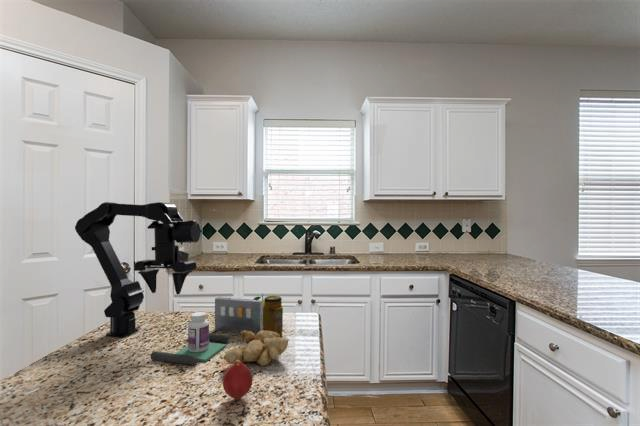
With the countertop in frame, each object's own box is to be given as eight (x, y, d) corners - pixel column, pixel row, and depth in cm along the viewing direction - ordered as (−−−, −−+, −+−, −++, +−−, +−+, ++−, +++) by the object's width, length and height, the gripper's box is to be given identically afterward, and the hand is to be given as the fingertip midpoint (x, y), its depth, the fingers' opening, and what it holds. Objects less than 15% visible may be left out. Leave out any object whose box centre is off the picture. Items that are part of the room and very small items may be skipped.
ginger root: (293, 340, 93) (291, 315, 91) (286, 380, 77) (284, 351, 76) (239, 341, 93) (237, 316, 92) (222, 381, 78) (218, 352, 76)
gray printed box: (213, 330, 104) (213, 299, 104) (218, 327, 107) (218, 297, 107) (258, 335, 100) (258, 302, 100) (262, 331, 103) (262, 300, 103)
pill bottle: (208, 344, 92) (208, 310, 92) (209, 351, 87) (209, 315, 87) (187, 346, 90) (188, 312, 90) (187, 354, 85) (188, 317, 85)
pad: (171, 357, 84) (171, 355, 84) (195, 343, 94) (195, 341, 94) (205, 362, 82) (205, 359, 82) (226, 346, 91) (226, 344, 91)
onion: (226, 392, 68) (226, 353, 68) (253, 390, 68) (254, 353, 68) (220, 408, 62) (220, 366, 62) (250, 407, 62) (250, 365, 63)
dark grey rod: (188, 339, 97) (188, 332, 97) (192, 336, 99) (192, 330, 99) (227, 343, 94) (227, 336, 94) (230, 341, 95) (230, 334, 96)
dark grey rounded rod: (150, 360, 82) (150, 352, 82) (156, 357, 84) (156, 349, 84) (194, 366, 79) (195, 358, 79) (199, 363, 81) (199, 355, 81)
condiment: (279, 331, 104) (280, 293, 104) (289, 340, 96) (289, 300, 97) (257, 334, 101) (257, 296, 101) (265, 344, 93) (265, 302, 93)
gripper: (206, 240, 105) (207, 288, 105) (160, 241, 110) (161, 286, 110) (183, 243, 94) (184, 297, 94) (132, 243, 100) (133, 294, 100)
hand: (165, 293), depth 100 cm, fingers open, 9 cm apart
